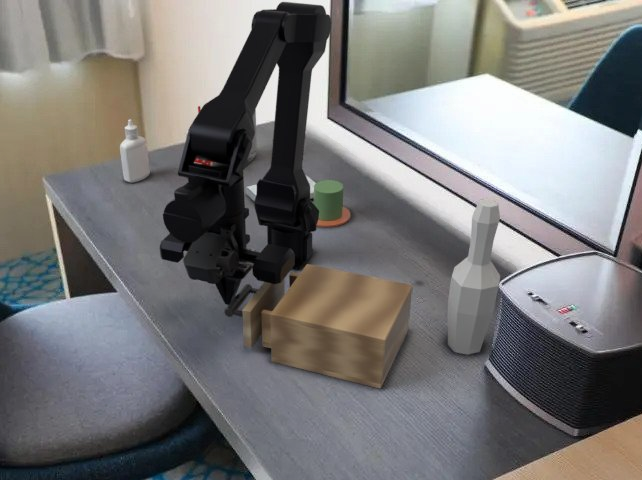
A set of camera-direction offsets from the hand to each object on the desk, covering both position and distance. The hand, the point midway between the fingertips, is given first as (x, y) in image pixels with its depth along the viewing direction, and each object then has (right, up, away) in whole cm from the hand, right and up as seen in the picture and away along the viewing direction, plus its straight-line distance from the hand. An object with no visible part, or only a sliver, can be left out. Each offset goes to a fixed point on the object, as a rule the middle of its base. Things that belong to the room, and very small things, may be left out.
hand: (229, 303), depth 115 cm
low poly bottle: (+33, -6, -5) cm, 34 cm away
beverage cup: (-6, +28, +43) cm, 51 cm away
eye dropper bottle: (-19, +27, +43) cm, 54 cm away
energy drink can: (+2, +33, +49) cm, 59 cm away
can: (+18, +17, +26) cm, 36 cm away
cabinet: (+16, -6, -4) cm, 18 cm away
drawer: (+9, -4, -2) cm, 11 cm away
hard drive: (+4, +21, +31) cm, 38 cm away
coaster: (+17, +17, +27) cm, 36 cm away
